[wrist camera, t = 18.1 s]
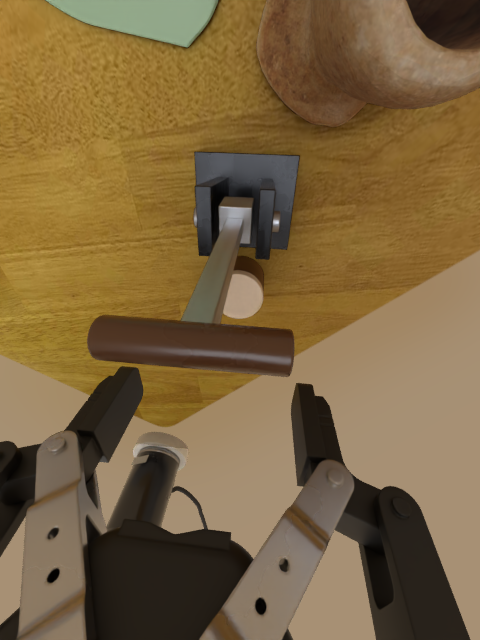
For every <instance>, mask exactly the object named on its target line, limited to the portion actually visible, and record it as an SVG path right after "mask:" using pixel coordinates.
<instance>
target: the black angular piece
mask: <svg viewBox="0 0 480 640" xmlns="http://www.w3.org/2000/svg"><path fill="white" fill-rule="evenodd" d="M194 153H195V171H196V186H195V198H196V207H195V209H194V225H195V227H196V228H197V232H198V249H199V256H210V255H211V252H212V250H213V248H214V246H215V244H216V241H217V239H218V237H219V209H218V207H219V205H220V203H221V202H222V200H223V199H224V197H246V198H254V215H253V231H252V237H251V243H250V244H245V243H240V246H239V247H251V248H256V253H255V258H256V259H265V260H269V258H270V249H285V250H287V247H288V239H289V232H290V224H291V217H292V209H293V202H294V195H295V187H296V180H297V172H298V165H299V157H300V156H298V155H271V154H244V153H217V152H194Z"/></svg>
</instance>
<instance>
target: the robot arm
mask: <svg viewBox="0 0 480 640" xmlns="http://www.w3.org/2000/svg"><path fill="white" fill-rule="evenodd" d="M142 396H143V385H142V381H141V378H140V374H139V370H138V368H135V367H124V366H122V367H120V368H119V369H118V371H117V372H116V374H115V375H114V376H109V377H107V378H106V379H105V380H103V381H102V382H101V383H99V385H98V386H97V388H96V389H95V390H94V392H93V394H91V396H90V397H89V398H88V401H86V402H85V404H84V405H83V406H82V408H81V409H80V410H79V412H78V413H77V414H76V416H75V417H74V419H73V420H72V421H71V423H70V424H69V426H68V427H67V428H66V429H65V430H64V431H61V432H58V433H56V434H54V435H52V436H50V437H49V438H48V439H46V440H45V441H44V442H43V443H42V444H37V445H32V446H27V447H22V448H17V446H16V445H15V444H14V443H13V442H10V441H4V442H0V557H1V555H2V553H3V552H4V550H5V549H6V547H7V545H8V544H9V542H10V541H11V539H12V537H13V536H14V534H15V533H16V531H17V529H18V528H19V526H20V524H21V523H22V521H23V519H24V518H25V516H26V523H25V539H24V554H23V569H22V570H23V571H22V585H21V600H20V607H19V608H18V609H17V610H16V611H15V612H14V613H13V614H12V615H11V616H10V617H9V618H7V619H6V620H5V621H4V622H3V623H2V624H1V625H0V640H293V638H292V636H291V634H290V632H289V630H288V626H289V624H290V622H291V620H292V618H293V616H294V614H295V612H296V610H297V608H298V606H299V603H300V602H301V599H302V597H303V595H304V593H305V591H306V589H307V587H308V585H309V583H310V581H311V579H312V577H313V575H314V573H315V571H316V569H317V567H318V564H319V562H320V560H321V558H322V556H323V554H324V552H325V550H326V548H327V545H328V542H329V540H330V538H331V536H332V534H333V532H334V530H336V531H338V532H340V533H342V534H343V535H346V536H347V537H349V538H351V539H353V540H355V541H357V542H358V543H359V548H360V554H361V560H362V565H363V570H364V576H365V581H366V587H367V592H368V598H369V603H370V608H371V614H372V619H373V625H374V630H375V635H376V640H470V637H469V635H468V632H467V630H466V627H465V624H464V622H463V619H462V616H461V614H460V611H459V608H458V606H457V603H456V601H455V598H454V596H453V593H452V590H451V588H450V585H449V582H448V580H447V577H446V574H445V572H444V569H443V566H442V564H441V561H440V558H439V556H438V553H437V551H436V548H435V545H434V543H433V540H432V537H431V535H430V532H429V530H428V527H427V525H426V522H425V519H424V516H423V514H422V511H421V509H420V507H419V505H418V504H417V503H416V501H415V500H414V499H413V498H412V497H411V496H410V495H409V494H408V493H406V492H405V491H403V490H402V489H399V488H397V487H392V486H388V487H384V488H383V489H382V490H380V489H377V488H376V487H373V486H371V485H369V484H366V483H364V482H362V481H360V480H359V479H357V478H356V477H355V476H353V475H352V474H351V473H350V472H349V470H348V469H347V468H346V466H345V464H344V462H343V459H342V455H341V451H340V447H339V443H338V439H337V435H336V431H335V427H334V423H333V419H332V414H331V410H330V406H329V405H328V403H327V402H326V400H325V399H324V398H323V397H321V396H315V394H314V390H313V386H312V385H311V384H302V383H296V387H295V391H294V395H293V400H292V405H291V418H292V430H293V442H294V453H295V464H296V476H297V486H303V489H302V491H301V492H300V493H299V495H298V497H297V498H296V500H295V501H294V503H293V504H292V505H291V507H289V508H288V509H287V510H286V511H285V513H284V514H283V516H282V517H281V519H280V520H279V522H278V523H277V525H276V526H275V528H274V529H273V531H272V532H271V534H270V535H269V537H268V538H267V540H266V541H265V543H264V544H263V546H262V548H261V549H260V551H259V552H258V554H257V555H256V557H255V558H254V559H253V558H252V557H251V555H250V554H249V553H248V552H247V551H246V550H245V549H244V548H243V547H242V546H240V545H239V544H237V543H235V542H234V541H232V540H231V532H224V531H216V530H208V528H207V525H206V522H205V518H204V515H203V513H202V509H201V506H200V504H199V502H198V501H197V500H196V499H195V497H194V496H193V495H192V494H191V493H190V492H188V491H187V490H185V489H184V488H182V487H179V486H176V487H174V488H173V485H174V481H175V477H176V474H177V470H178V468H179V465H180V459H179V457H178V456H177V455H176V454H175V453H174V452H172V451H170V450H168V449H166V448H162V447H158V446H147V447H144V448H142V449H140V451H139V452H138V455H137V457H136V458H134V460H133V463H132V465H133V467H132V470H131V472H130V474H129V476H128V479H127V481H126V483H125V485H124V488H123V490H122V492H121V495H120V497H119V499H118V502H117V504H116V506H115V508H114V511H113V513H112V515H111V518H110V520H109V522H108V524H107V527H106V524H105V521H104V518H103V515H102V511H101V504H100V496H99V489H98V483H97V475H96V470H95V468H96V467H97V465H98V463H99V462H107V463H108V462H109V461H110V459H111V457H112V455H113V453H114V451H115V449H116V447H117V445H118V444H119V442H120V439H121V438H122V436H123V434H124V432H125V430H126V428H127V426H128V424H129V422H130V421H131V419H132V417H133V415H134V413H135V411H136V409H137V407H138V405H139V403H140V401H141V399H142ZM175 491H180V492H182V493H184V494H185V495H187V496H188V497H189V498H190V499H191V500H192V501H193V502H194V503H195V505H196V506H197V508H198V511H199V515H200V517H201V520H202V523H203V526H204V529H202V530H196V531H191V532H186V533H181V534H172V533H170V532H168V531H167V530H164V529H163V528H161V525H162V522H163V518H164V515H165V512H166V508H167V505H168V501H169V498H170V495H171V493H172V492H175Z"/></svg>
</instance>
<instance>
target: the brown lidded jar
mask: <svg viewBox="0 0 480 640" xmlns="http://www.w3.org/2000/svg"><path fill="white" fill-rule="evenodd" d="M263 289H264V273H263V270H262V268H261V266H260V265H259V264H258V263H257V262H256V261H255V260H253V259H251V258H249V257H244V256H239V257H237V258H236V262H235V266H234V270H233V274H232V278H231V282H230V286H229V290H228V294H227V298H226V302H225V306H224V310H223V314H225V315H226V316H228V317H231V318H236V319H242V318H247V317H250V316H252V315H254V314H255V313H256V312H257V311H258V310H259V309H260V307H261V305H262V302H263Z"/></svg>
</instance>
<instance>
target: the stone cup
mask: <svg viewBox="0 0 480 640" xmlns="http://www.w3.org/2000/svg"><path fill="white" fill-rule="evenodd" d="M256 48H257V56H258V59H259V62H260V65H261V69H262V71H263V73H264V75H265V77H266V78H267V80H268V82H269V84H270V85H271V87H272V88H273V90H274V91H275V92H276V94H277V95H278V96H279V98H280V99H281V100H282V102H283V103H284V104H286V105H287V106H288V107H289V108H290V109H291V110H292V111H294V112H295V113H296V114H297V115H299V116H300V117H302V118H303V119H305V120H307V121H308V122H310V123H313V124H315V125H327V126H329V127H337V126H340V125H343V124H344V123H346V122H347V121H349V120H350V119H351V118H352V117H353V116H354V115H355V114H357V113H358V112H359V111H360V110H361V109H362V108H363V107H364V106H365V105H366V104H367V103H371V104H375V105H379V106H383V107H387V108H391V109H417V108H424V107H431V106H435V105H438V104H441V103H444V102H447V101H450V100H453V99H456V98H459V97H461V96H463V95H466V94H468V93H470V92H472V91H474V90H476V89H478V88H480V0H267V1H266V4H265V7H264V10H263V14H262V19H261V23H260V28H259V34H258V38H257V45H256Z"/></svg>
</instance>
